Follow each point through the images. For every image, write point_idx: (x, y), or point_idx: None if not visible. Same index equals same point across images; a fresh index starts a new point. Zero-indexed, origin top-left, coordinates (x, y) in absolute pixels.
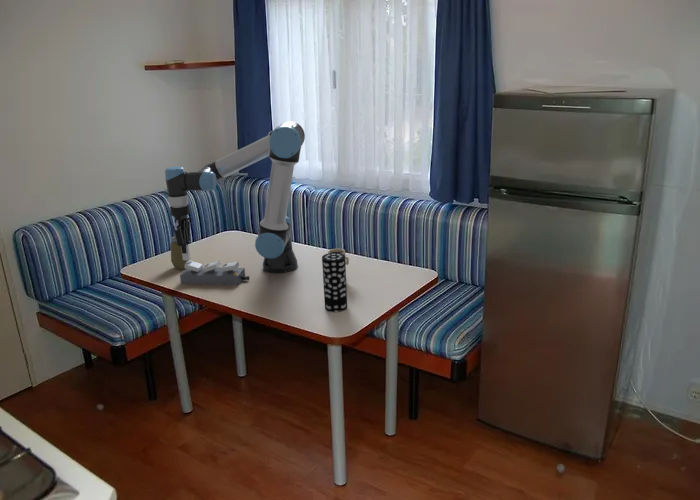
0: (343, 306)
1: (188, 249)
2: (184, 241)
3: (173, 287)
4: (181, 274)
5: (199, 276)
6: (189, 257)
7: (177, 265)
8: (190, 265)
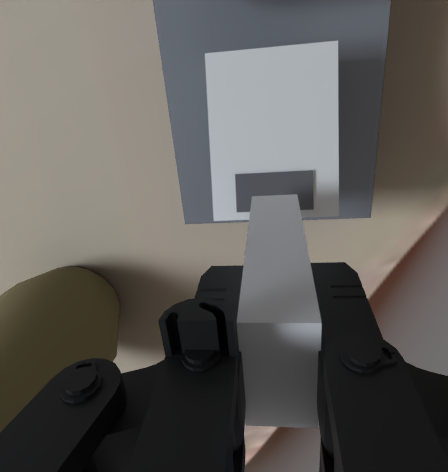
0: None
1: (270, 266)
2: (445, 468)
3: (417, 215)
4: (357, 209)
5: (386, 11)
6: (273, 207)
7: (117, 321)
8: (330, 152)
